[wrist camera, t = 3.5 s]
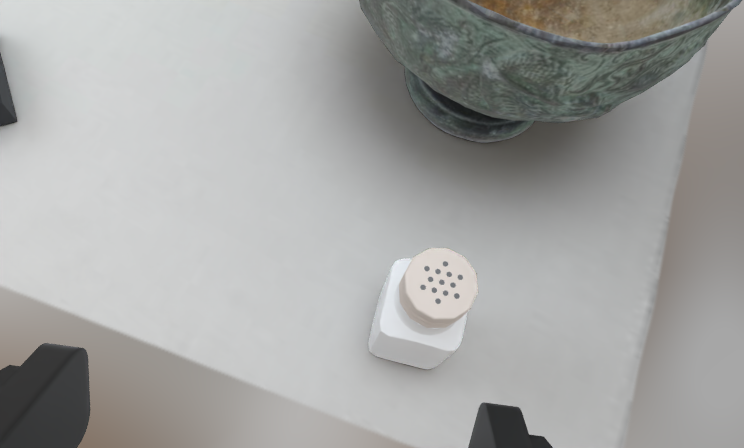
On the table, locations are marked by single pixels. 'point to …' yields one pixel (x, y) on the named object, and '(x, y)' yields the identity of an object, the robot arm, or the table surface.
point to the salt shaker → (423, 308)
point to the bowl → (536, 56)
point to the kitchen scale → (5, 99)
